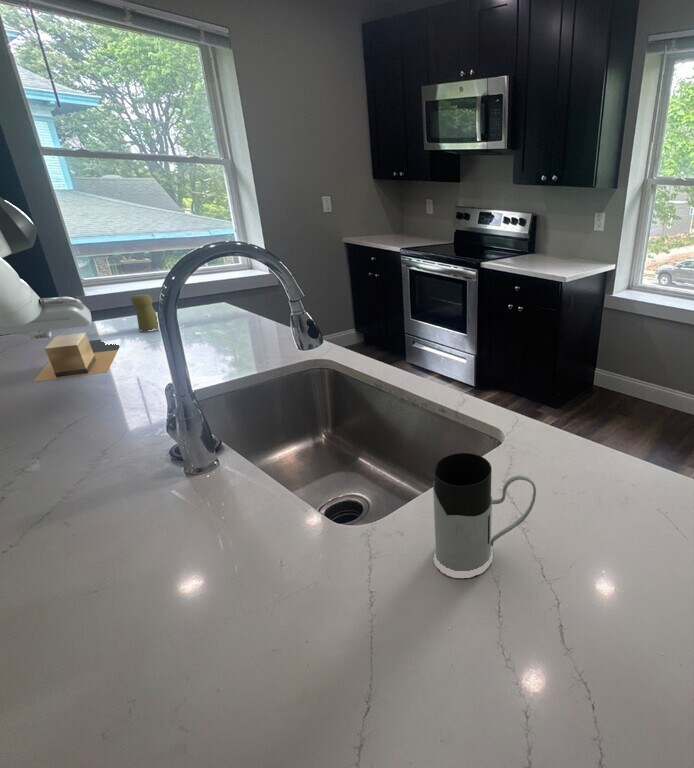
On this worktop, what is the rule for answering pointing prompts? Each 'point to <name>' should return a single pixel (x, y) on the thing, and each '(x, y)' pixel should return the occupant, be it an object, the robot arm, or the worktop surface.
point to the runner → (101, 365)
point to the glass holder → (466, 510)
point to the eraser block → (70, 354)
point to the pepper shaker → (145, 312)
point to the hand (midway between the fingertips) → (42, 335)
